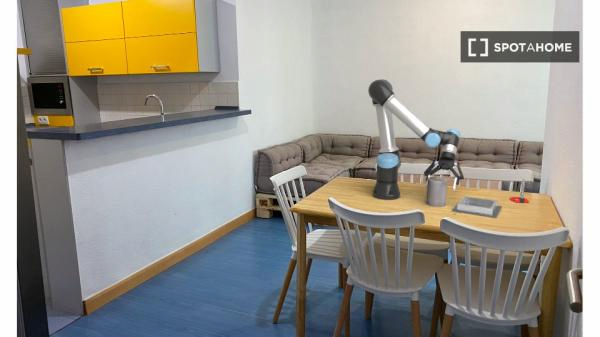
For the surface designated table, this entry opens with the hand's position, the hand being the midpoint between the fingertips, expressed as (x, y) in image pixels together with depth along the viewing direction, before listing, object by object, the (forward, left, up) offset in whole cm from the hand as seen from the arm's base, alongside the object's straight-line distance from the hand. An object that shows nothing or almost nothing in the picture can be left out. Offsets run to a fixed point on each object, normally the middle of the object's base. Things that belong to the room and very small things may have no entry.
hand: (440, 188), depth 212 cm
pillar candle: (-1, -1, -9) cm, 9 cm away
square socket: (+19, 0, -9) cm, 20 cm away
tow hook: (+34, +27, -9) cm, 45 cm away
